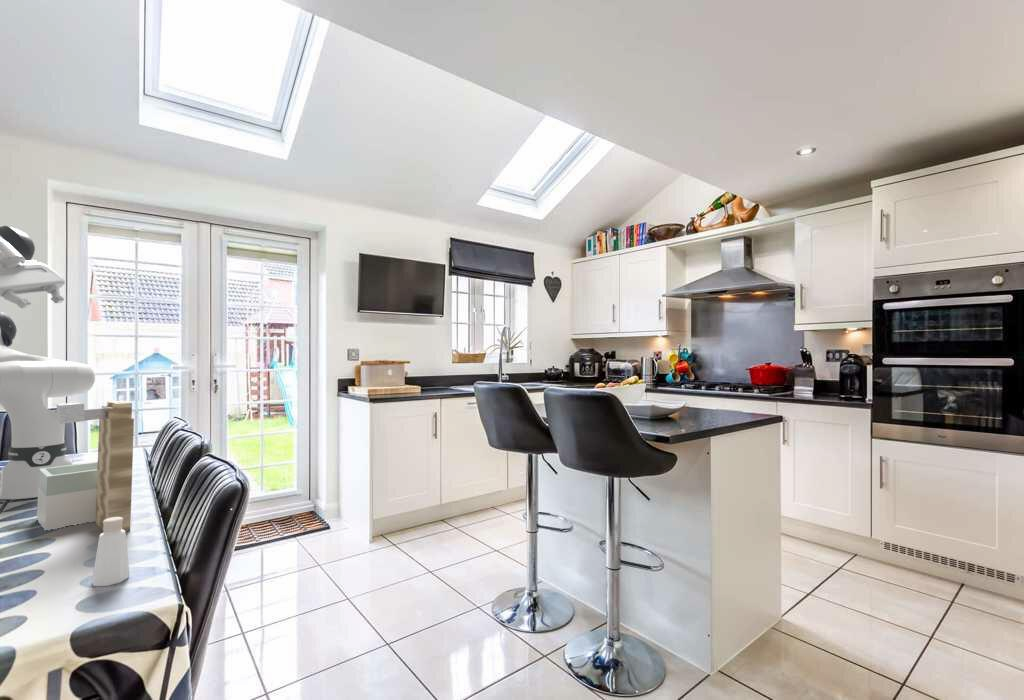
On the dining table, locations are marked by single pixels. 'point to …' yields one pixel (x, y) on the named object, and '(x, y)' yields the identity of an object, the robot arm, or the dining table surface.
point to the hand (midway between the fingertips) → (44, 304)
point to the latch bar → (78, 413)
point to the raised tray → (67, 495)
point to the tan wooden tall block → (115, 464)
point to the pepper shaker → (111, 554)
